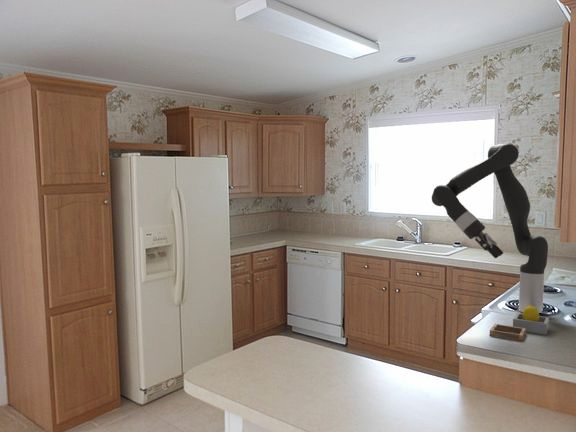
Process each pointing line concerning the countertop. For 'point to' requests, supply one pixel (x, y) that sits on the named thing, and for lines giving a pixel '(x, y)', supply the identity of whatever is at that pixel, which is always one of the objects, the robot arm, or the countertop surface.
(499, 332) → the cradle
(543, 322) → the holder
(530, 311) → the lemon
